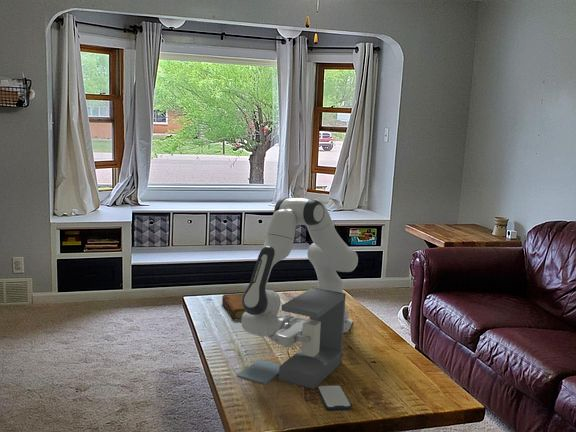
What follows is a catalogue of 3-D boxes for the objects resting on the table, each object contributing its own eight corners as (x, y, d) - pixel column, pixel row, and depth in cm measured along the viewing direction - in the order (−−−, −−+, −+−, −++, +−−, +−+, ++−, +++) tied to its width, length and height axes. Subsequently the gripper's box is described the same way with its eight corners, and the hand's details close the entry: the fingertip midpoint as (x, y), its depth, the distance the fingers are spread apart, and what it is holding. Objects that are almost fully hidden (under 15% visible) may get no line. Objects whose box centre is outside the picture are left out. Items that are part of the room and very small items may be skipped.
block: (307, 349, 212) (308, 318, 210) (319, 352, 210) (320, 321, 208) (301, 353, 208) (302, 322, 206) (313, 356, 206) (315, 325, 203)
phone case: (316, 390, 198) (326, 412, 182) (316, 385, 198) (326, 407, 182) (340, 389, 199) (352, 411, 184) (340, 384, 199) (352, 406, 184)
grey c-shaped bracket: (309, 354, 226) (312, 287, 222) (341, 362, 220) (345, 293, 215) (278, 379, 204) (281, 305, 199) (313, 388, 197) (317, 312, 193)
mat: (259, 360, 219) (259, 359, 218) (286, 367, 213) (286, 366, 213) (237, 376, 205) (237, 374, 204) (265, 384, 199) (265, 382, 199)
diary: (222, 305, 283) (222, 294, 282) (257, 302, 289) (258, 292, 289) (233, 320, 262) (233, 309, 261) (271, 317, 268) (271, 305, 267)
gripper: (267, 329, 204) (301, 337, 198) (292, 313, 222) (324, 320, 216) (266, 346, 205) (300, 354, 199) (291, 328, 223) (323, 335, 217)
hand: (313, 336), depth 207 cm, fingers closed on block, 5 cm apart
